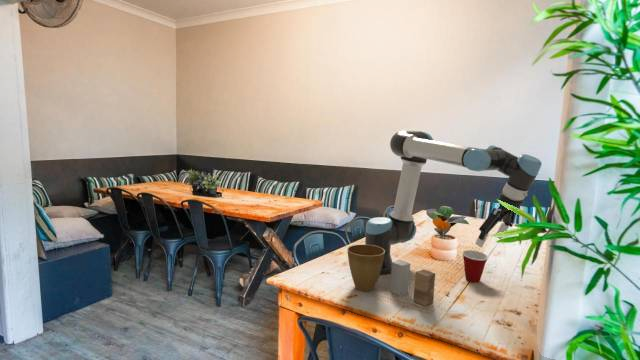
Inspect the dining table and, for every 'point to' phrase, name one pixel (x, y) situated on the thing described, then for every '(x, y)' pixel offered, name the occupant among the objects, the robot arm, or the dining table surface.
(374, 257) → the plant pot
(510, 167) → the robot arm
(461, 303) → the dining table surface
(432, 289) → the walnut block
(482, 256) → the plastic cup
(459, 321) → the dining table surface
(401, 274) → the grey block
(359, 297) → the dining table surface
